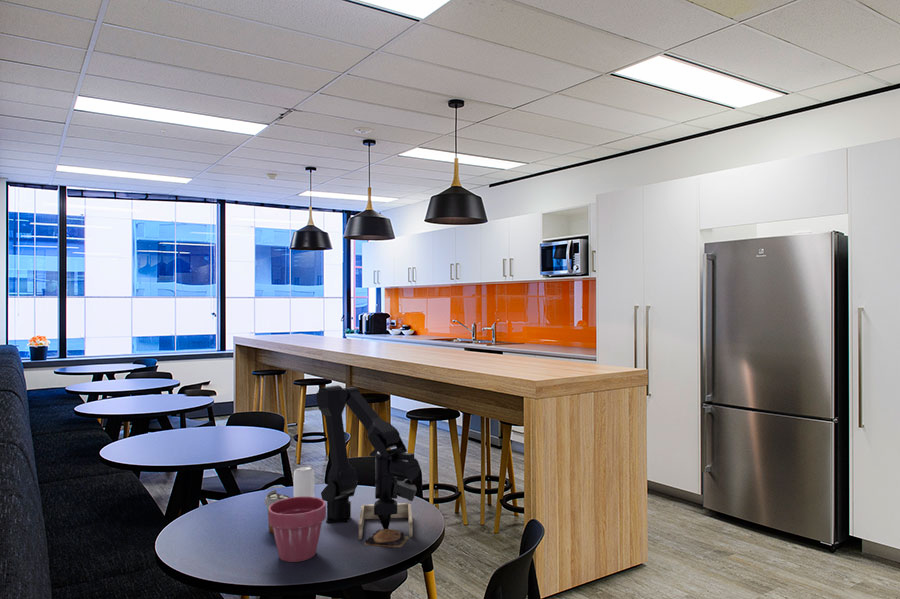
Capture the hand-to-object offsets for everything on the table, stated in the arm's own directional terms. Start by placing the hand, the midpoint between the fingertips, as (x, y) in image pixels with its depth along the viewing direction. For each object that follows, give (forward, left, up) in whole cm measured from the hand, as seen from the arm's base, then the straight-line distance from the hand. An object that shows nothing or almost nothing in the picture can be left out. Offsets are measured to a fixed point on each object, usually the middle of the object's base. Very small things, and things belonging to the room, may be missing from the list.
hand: (386, 530), depth 170 cm
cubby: (0, +5, -1) cm, 5 cm away
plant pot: (-22, -12, -1) cm, 25 cm away
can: (-26, +28, -1) cm, 38 cm away
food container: (-31, +5, -1) cm, 31 cm away
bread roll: (0, -5, -2) cm, 5 cm away
